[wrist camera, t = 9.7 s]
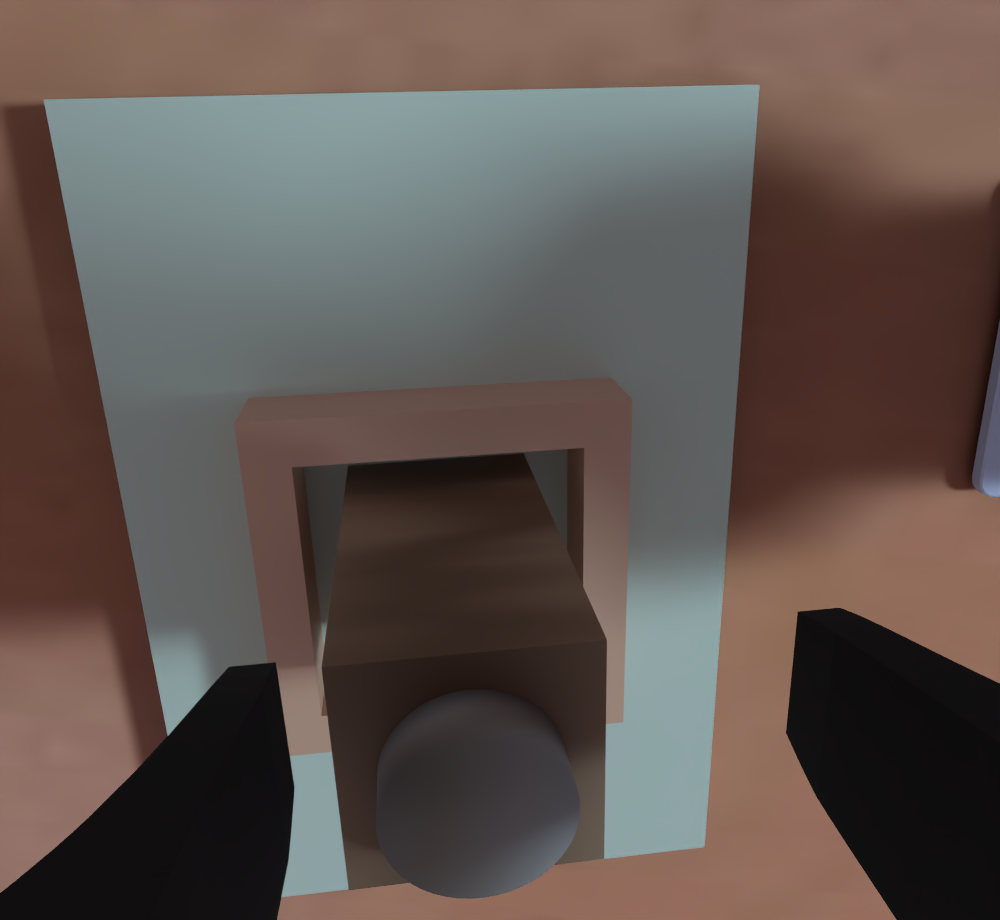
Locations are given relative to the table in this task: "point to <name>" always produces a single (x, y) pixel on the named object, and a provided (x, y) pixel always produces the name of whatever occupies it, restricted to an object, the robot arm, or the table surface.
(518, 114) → the dock board
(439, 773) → the spigot block
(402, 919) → the table surface
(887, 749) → the robot arm
